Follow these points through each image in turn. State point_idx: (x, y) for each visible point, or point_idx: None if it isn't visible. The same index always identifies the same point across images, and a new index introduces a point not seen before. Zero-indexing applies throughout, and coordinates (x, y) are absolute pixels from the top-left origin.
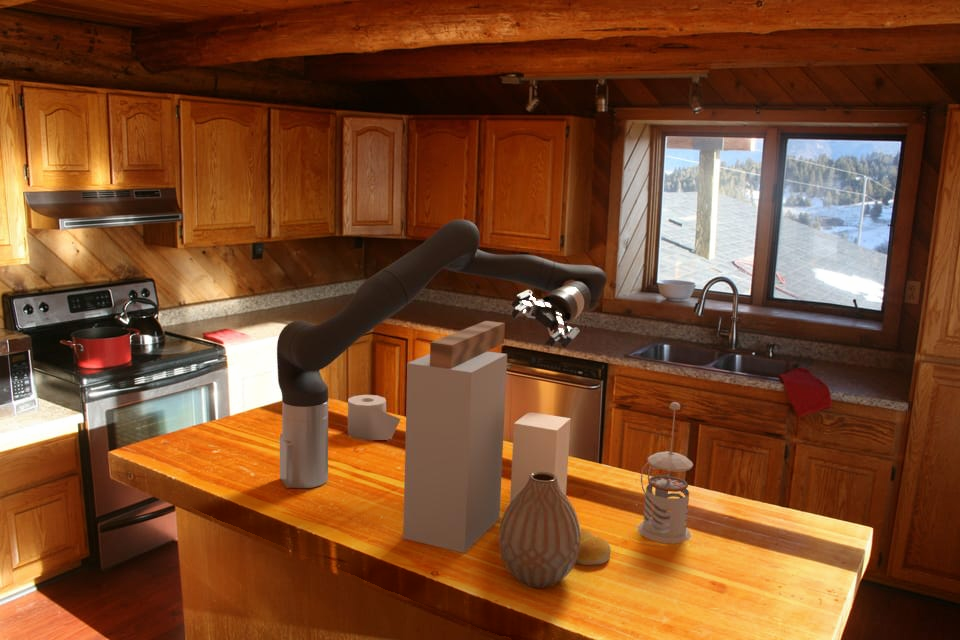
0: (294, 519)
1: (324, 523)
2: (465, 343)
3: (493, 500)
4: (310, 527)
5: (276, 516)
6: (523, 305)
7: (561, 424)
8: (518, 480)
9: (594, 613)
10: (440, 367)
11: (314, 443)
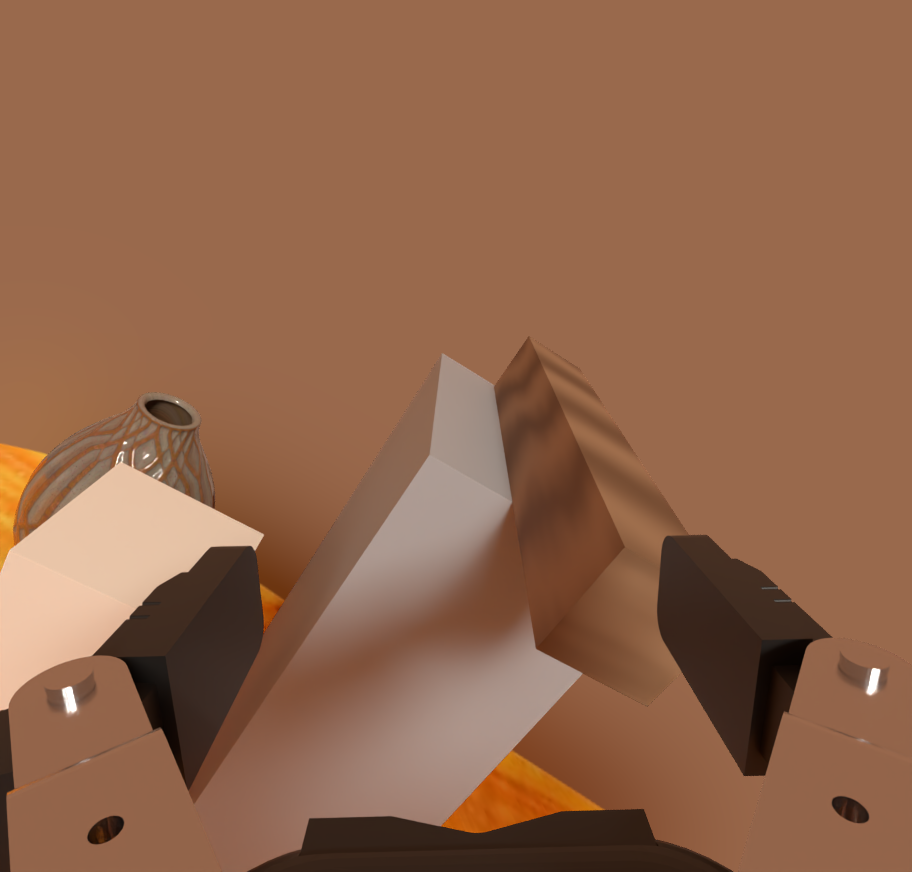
0: (561, 796)
1: (513, 784)
2: (532, 369)
3: (201, 774)
4: (522, 765)
5: (591, 805)
6: (783, 616)
7: (85, 500)
8: None
9: (7, 478)
10: None
11: None
